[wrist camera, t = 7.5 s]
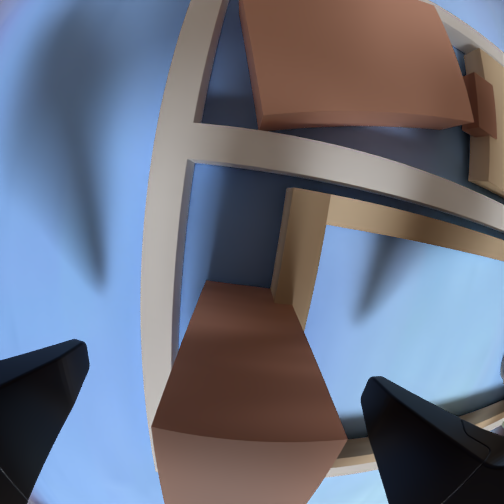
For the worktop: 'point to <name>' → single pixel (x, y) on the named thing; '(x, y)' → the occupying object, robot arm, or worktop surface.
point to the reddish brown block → (351, 65)
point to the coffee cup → (502, 370)
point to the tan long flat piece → (485, 120)
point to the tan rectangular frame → (274, 369)
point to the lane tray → (259, 159)
